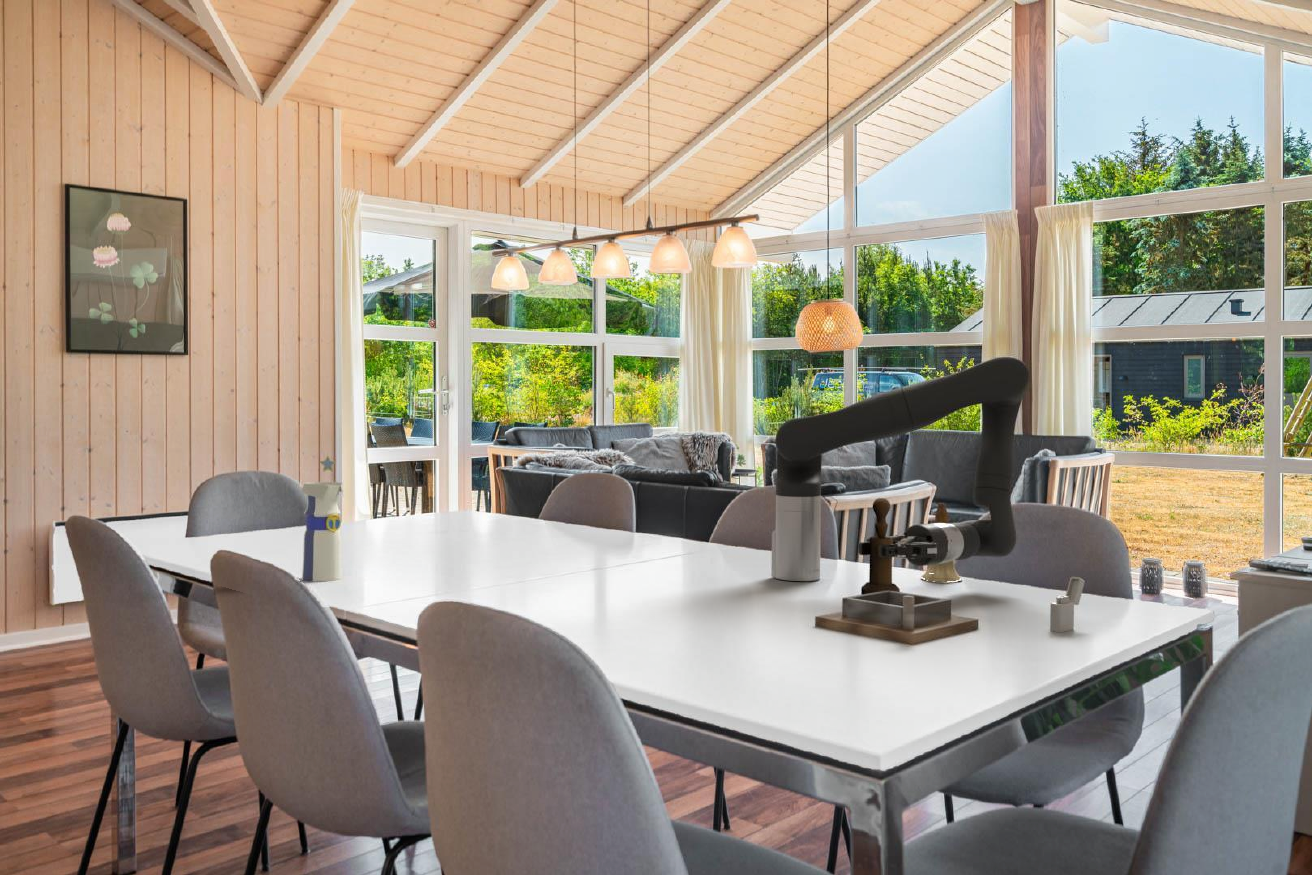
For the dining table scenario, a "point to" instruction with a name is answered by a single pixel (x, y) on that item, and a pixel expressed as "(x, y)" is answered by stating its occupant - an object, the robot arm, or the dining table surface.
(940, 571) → the hand bell
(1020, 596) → the dining table surface
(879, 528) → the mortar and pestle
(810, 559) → the robot arm
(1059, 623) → the lighter
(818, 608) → the dining table surface
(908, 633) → the collar plate
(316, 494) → the cream gift bag
